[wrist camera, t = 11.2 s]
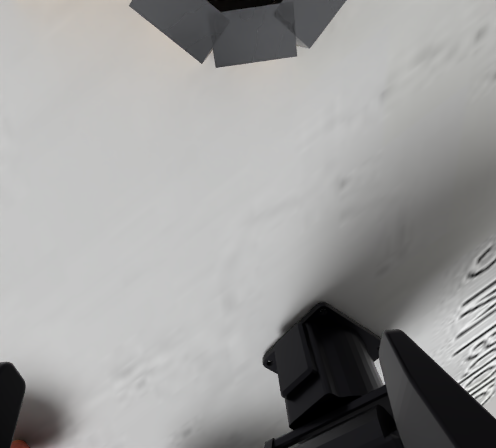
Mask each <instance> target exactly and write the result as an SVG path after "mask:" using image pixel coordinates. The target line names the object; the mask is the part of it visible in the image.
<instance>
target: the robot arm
mask: <svg viewBox="0 0 496 448" xmlns="http://www.w3.org/2000/svg"><path fill="white" fill-rule="evenodd" d="M322 309H325V310H324V311H320V310H322ZM379 346H380V347H379ZM378 358H379V360H380V365H381V369H382V372H383V376H384V380H385V385H383V383H382V381H381V378H380V376H379V374H378V372H377V369H376V367H375V365H374V363H373V362H374V361H376V360H377V359H378ZM269 361H270V362H269ZM263 365H264V367H266V368H267V369H269V370H271V371H273V372H275V373H277V374H278V378H279V385H280V391H281V396H282V397H283V398H285V402H286V409H287V415H288V421H289V427H290V428H291V429H292V430H293V431H291V432H289V433H287V434H285V435H283V436H281V437H279V438H277V439H274V438H273V439H271V440H269V441H267V442H265V447H264V448H496V419H495V418H494V417H493V416H492V415H491V414H490V413H489V412H488V411H487V410H486V409H485V408H484V407H482V406H481V405H480V404H479V403H478V402H477V401H476V400H475V399H474V398H473V397H472V396H471V395H470V394H469V393H468V392H467V391H466V390H464V389H463V388H462V387H461V386H460V385H459V384H458V383H457V382H456V381H455V380H454V379H453V378H452V377H451V376H450V375H449V374H448V373H446V372H445V371H444V370H443V369H442V368H441V367H440V366H439V365H438V364H437V363H436V362H435V361H434V360H433V359H432V358H431V357H430V356H428V355H427V354H426V353H425V352H424V351H423V350H422V349H421V348H420V347H419V346H418V345H417V344H416V343H415V342H414V341H413V340H412V339H410V338H409V337H408V336H407V335H406V334H405V333H404V332H403V331H401V330H398V329H396V330H385V331H383V333H382V336H381V338H380V337H379V336H377V335H375V334H374V333H372V332H371V331H369V330H368V329H366V328H364V327H363V326H361V325H360V324H358V323H357V322H355V321H354V320H352V319H350V318H349V317H347V316H346V315H344V314H343V313H341V312H340V311H338V310H336V309H335V308H333V307H332V306H330V305H329V304H327V303H325V302H321V303H318V304H317V305H316V306H315V307H314V308H313V309H312V310H311V311H310V312H309V313H307V314H306V315H305V316H304V317H303V318H302V319H301V320H300V321H299V322H298V323H296V324H295V325H294V326H293V327H292V328H291V329H290V330H289V331H288V332H287V333H286V334H285V335H284V336H283V337H282V338H281V339H280V340H279V341H278V342H277V343H276V344H275V345H274V347H273V348H272V349H271V350H270V351H269V352H268V353H267V354H265V355H264V357H263ZM24 393H25V381H24V379H23V378H22V376H21V375H20V374H19V372H18V371H17V369H16V368H15V366H14V365H13V364H12V363H10V362H0V448H10V447H11V444H12V440H13V436H14V432H15V428H16V425H17V421H18V417H19V413H20V409H21V405H22V401H23V397H24Z"/></svg>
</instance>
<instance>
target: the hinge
mask: <svg viewBox="0 0 496 448" xmlns="http://www.w3.org/2000/svg"><path fill="white" fill-rule="evenodd" d="M345 1H346V0H274V2H273V3H272V4H271V5H266V6H259V7H252V8H245V9H238V10H231V11H224V12H220V11H218V10H217V9H216V8H215V7H214V6H213V5H211V4H210V3H209V2H208V1H207V0H132V2H131V3H130V5H129V6H130V7H131V8H132V9H134V10H135V11H136V12H137V13H139V14H140V15H141V16H142V17H144V18H145V19H146V20H147V21H149V22H150V23H151V24H152V25H154V26H155V27H156V28H158V29H159V30H160V31H161V32H163V33H164V34H165V35H166V36H168V37H169V38H170V39H171V40H173V41H174V42H175V43H176V44H178V45H179V46H180V47H181V48H183V49H184V50H185V51H186V52H188V53H189V54H190V55H191V56H193V57H194V58H195V59H196V60H198V61H199V62H200V63H201V64H202V63H203V62H204V61H205V59H206V58H207V57H208V55H209V54H210V52H211V51H212V49H213V53H214V59H215V66H216V68H218V67H225V66H232V65H239V64H246V63H253V62H260V61H267V60H274V59H281V58H288V57H295V56H297V49H296V46H300V47H305V48H310V47H311V46H312V45H313V43H314V42H315V41H316V40H317V38H318V37H319V36H320V34H321V33H322V32H323V30H324V29H325V28H326V26H327V25H328V24H329V22H330V21H331V20H332V19H333V17H334V16H335V15H336V13H337V12H338V11H339V9H340V8H341V7H342V5H343V4H344V3H345Z"/></svg>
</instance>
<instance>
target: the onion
mask: <svg viewBox="0 0 496 448" xmlns="http://www.w3.org/2000/svg"><path fill="white" fill-rule="evenodd" d="M10 448H30V447H29V446H28V445H27V443H26V442H25V441H23V440H15V441H13V442H12V444H11V447H10Z"/></svg>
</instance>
